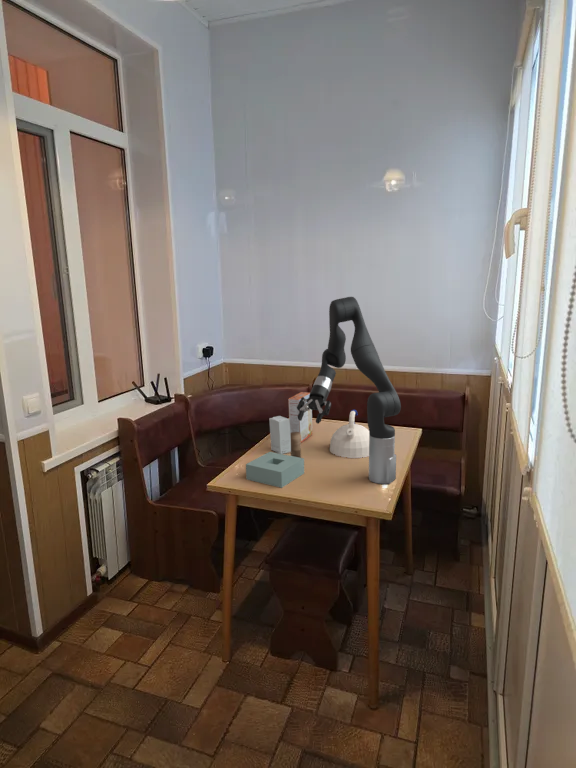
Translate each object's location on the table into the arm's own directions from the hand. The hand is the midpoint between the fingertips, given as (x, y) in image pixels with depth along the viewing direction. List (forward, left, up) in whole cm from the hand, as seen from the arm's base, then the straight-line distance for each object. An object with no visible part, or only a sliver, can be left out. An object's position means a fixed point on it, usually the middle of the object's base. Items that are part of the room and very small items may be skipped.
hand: (308, 421), depth 214 cm
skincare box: (+14, 0, -16) cm, 21 cm away
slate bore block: (0, +25, -15) cm, 29 cm away
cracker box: (+15, -19, -16) cm, 29 cm away
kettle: (-13, -16, -16) cm, 26 cm away
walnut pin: (0, +10, -15) cm, 18 cm away
